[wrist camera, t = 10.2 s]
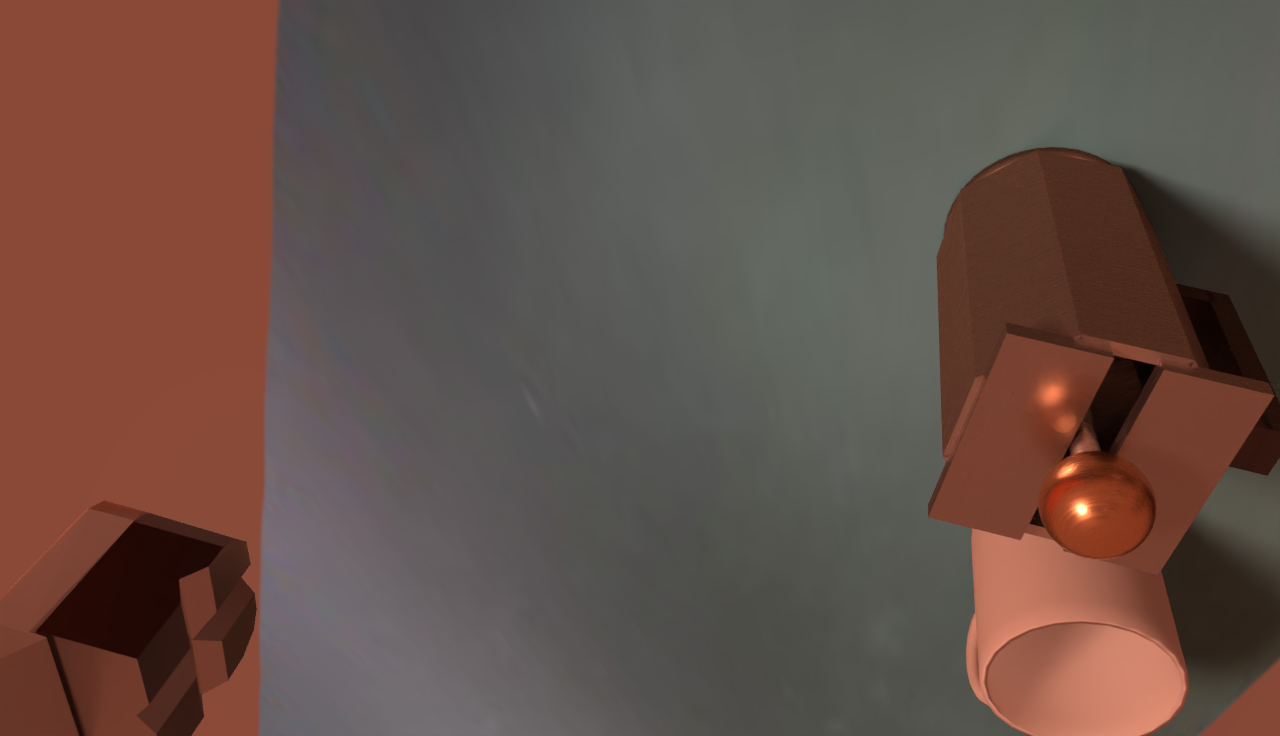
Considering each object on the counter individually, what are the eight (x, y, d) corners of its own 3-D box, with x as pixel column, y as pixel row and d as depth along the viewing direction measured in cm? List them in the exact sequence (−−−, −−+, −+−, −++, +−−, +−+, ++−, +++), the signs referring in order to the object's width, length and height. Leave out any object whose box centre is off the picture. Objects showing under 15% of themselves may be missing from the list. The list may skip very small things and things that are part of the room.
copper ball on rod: (998, 189, 45) (1035, 437, 31) (1156, 223, 44) (1265, 492, 30) (950, 316, 49) (963, 586, 35) (1093, 349, 49) (1165, 638, 35)
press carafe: (978, 128, 48) (1002, 326, 34) (1243, 185, 46) (1381, 414, 33) (920, 291, 53) (921, 519, 39) (1157, 346, 52) (1243, 600, 38)
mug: (1182, 496, 57) (1233, 664, 47) (1065, 625, 64) (1090, 794, 55) (1021, 434, 57) (1041, 591, 47) (922, 571, 64) (923, 730, 55)
